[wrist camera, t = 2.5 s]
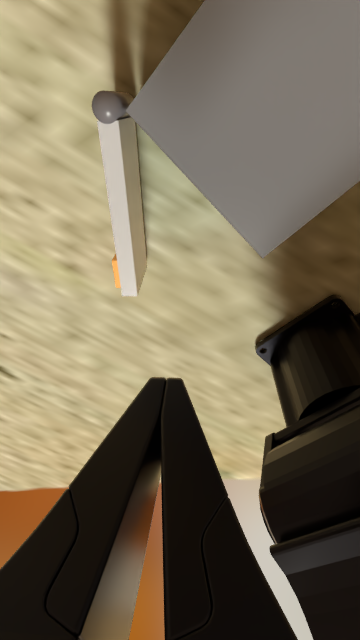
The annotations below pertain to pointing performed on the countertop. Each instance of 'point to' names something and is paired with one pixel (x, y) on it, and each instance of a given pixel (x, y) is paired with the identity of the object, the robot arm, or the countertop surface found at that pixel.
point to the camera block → (261, 110)
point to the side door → (122, 187)
